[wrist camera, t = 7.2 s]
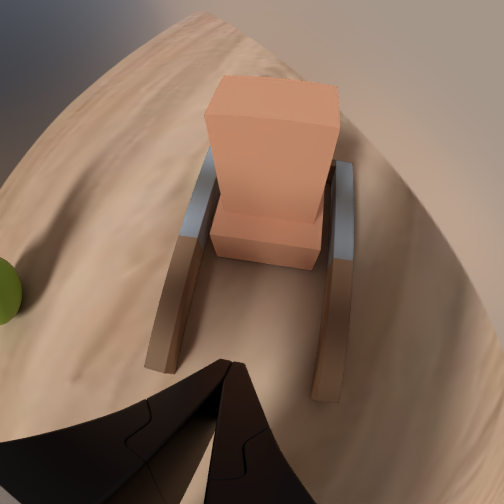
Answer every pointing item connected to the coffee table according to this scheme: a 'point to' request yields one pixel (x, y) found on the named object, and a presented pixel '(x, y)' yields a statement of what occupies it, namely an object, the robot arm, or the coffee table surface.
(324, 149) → the block
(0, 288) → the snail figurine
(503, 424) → the coffee table surface
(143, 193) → the coffee table surface
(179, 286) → the beam slot
